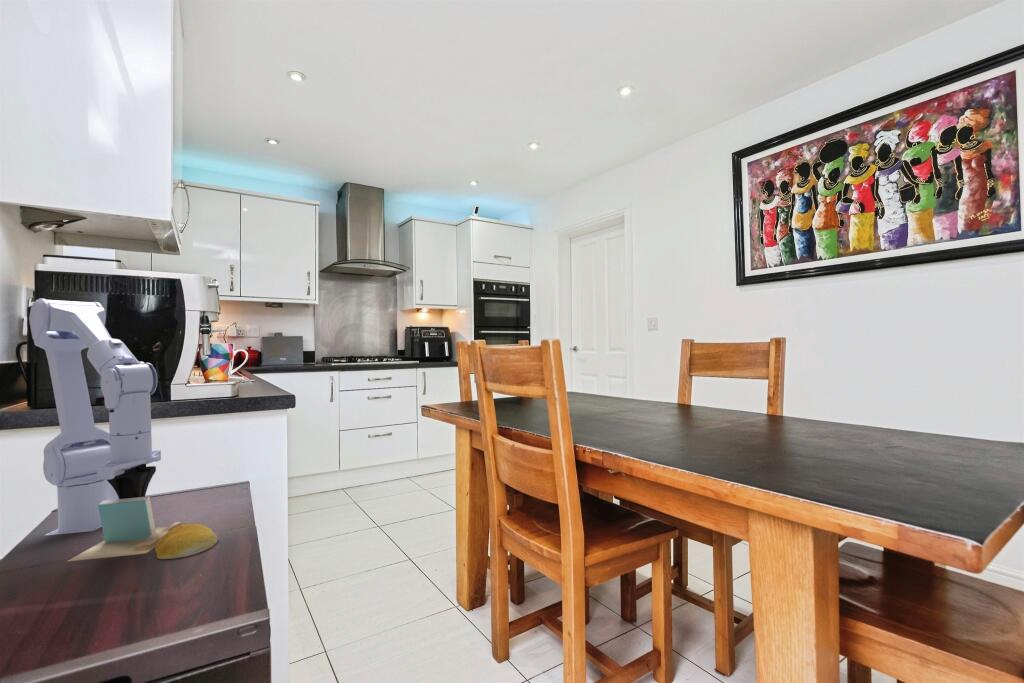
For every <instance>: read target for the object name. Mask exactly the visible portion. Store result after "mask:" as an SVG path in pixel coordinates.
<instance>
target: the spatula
mask: <svg viewBox="0 0 1024 683" xmlns="http://www.w3.org/2000/svg"><path fill="white" fill-rule="evenodd" d="M181 525H182V522H181V521H177V522H176V521H175V522H173V523H172V524H170V525H169V526H166V527H167V528H165V529H164V530H162V531H161V532H156V533H154V534H152V535H150V536H149V537H147V538H146V539H144V540H143V541H141V542H139V543H138V544H136V545H135V546H134V551H141V550H150V549H152V548H153V549H155V548H154V547H155V546H156V544H157V542H158V541H159V539H160V538H161V537H162V536H164V535H165V534H166V533H167V532H169V531H170V530H172V529H174V528H175V527H178V526H181ZM153 549H152V550H153ZM150 551H151V550H150Z"/></svg>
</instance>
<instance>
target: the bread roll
mask: <svg viewBox="0 0 1024 683" xmlns="http://www.w3.org/2000/svg"><path fill="white" fill-rule="evenodd" d="M218 540H219V538H218V535H217V534H216V533H215V532H214V531H213V530H212V529H211V528H210V527H208V526H206V525H203V524H200V523H188V524H181V526H178V527H175V528H174V529H172V530H170V531H169V532H167V533H166V534H165V535H164V536H162V537H161V538H160V539H159V541H158V542H157V544H156V547H155V548H154V549H155V554H156V558H157V559H158V560H169V559H170V560H171V559H179V558H185V557H189V556H193V555H196V554H200V553H202V552H204V551H207V550H209V549H211V548H212V547H214V546H215V545H216V544H217V543H218Z"/></svg>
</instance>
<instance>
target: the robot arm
mask: <svg viewBox="0 0 1024 683" xmlns="http://www.w3.org/2000/svg"><path fill="white" fill-rule="evenodd" d="M106 319H107V315H106V310H105V308H104V306H103V305H102V304H101V303H100V302H98V301H92V302H91V301H90V302H89V301H74V300H72V301H71V300H59V299H58V300H57V299H54V300H53V299H46V298H38V299H36V300H35V301H34V302H33V303H32V305H31V306H30V311H29V318H28V321H29V326H30V332H31V338H32V340H33V342H34V346H36V347H38V348H40V349H43V350H44V351H45V355H46V358H47V363H48V368H49V374H50V379H51V385H52V389H53V397H54V400H55V401H54V402H55V407H56V412H57V419H58V423H59V427H60V428H59V429H60V434H58V435H57V436H56V437H54V438H53V439H52V440H50V441H48V443H47V444H46V445H45V446H44V449H43V462H42V463H43V464H42V466H43V467H42V470H43V475H44V478H45V480H46V481H47V482H48V483H49V484H51V485H53V486H56V487H57V490H56V491H57V496H56V497H57V529H55V530H52V531H50V532H47V533H46V534H45V536H53V535H63V534H64V535H65V534H74V533H84V532H86V533H87V532H94V531H97V530H98V529H101V527H102V524H101V519H100V514H99V509H98V505H99V504H100V503H101V502H102V501H104V500H115V499H126V498H138V497H146V494H147V490H148V487H149V485H150V483H151V481H152V478H153V476H154V475H155V473H156V471H157V466H156V465H151V466H147V465H149V464H151V463H153V462H155V463H156V462H160V461H161V460H162V451H161V449H157V450H153V444H152V415H151V414H152V412H151V411H152V410H151V407H152V405H151V395H153V394H154V393H155V392H156V389H157V387H158V373H157V370H156V368H155V367H154V364H152V363H150V362H144V361H140V360H138V359H137V357H136V356H135V355H134V354H133V353H132V352H131V350H130V349H129V348H128V347H127V345H126V344H125V343H124V342H123V341H122V340H121V339H118V338H112V336H111V335H110V333H109V331H108V329H107V328H106V326H105V324H106ZM87 348H88V350H87V352H86V357H87V360H88V361H89V362H90V363H91V365H92V366H93V368H94V369H95V371H96V372H97V373H98V375H99V376H100V377H101V379H100V382H99V385H100V391H101V392H102V395H103V398H104V407H105V409H108V420H109V421H108V426H109V430H108V431H109V432H108V431H106V430H105V429H101V428H99V427H97V426H96V425H95V419H94V413H93V410H92V404H91V400H90V399H91V398H90V393H89V388H88V383H87V379H86V378H87V377H86V373H85V369H84V363H83V358H82V350H85V349H87Z"/></svg>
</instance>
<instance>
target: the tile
mask: <svg viewBox="0 0 1024 683" xmlns="http://www.w3.org/2000/svg"><path fill="white" fill-rule="evenodd" d="M98 509H99V514H100V519H101V524H102V528H101V529H102V533H103V539H104V540H105V543H108V542H118V541H128V540H138V539H146V538H147V537H149V536H150V535H152V534H154V533H156V530H155V528H156V526H155V520H154V515H153V514H154V513H153V507H152V503H151V496H149V495H148V496H145V497H138V498H126V499H115V500H104V501H102V502H101V503H100V504H99V505H98Z"/></svg>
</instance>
